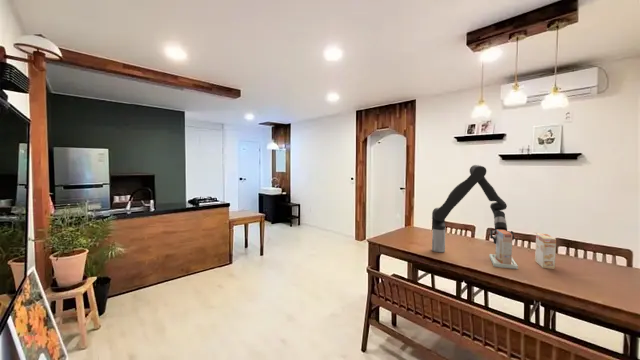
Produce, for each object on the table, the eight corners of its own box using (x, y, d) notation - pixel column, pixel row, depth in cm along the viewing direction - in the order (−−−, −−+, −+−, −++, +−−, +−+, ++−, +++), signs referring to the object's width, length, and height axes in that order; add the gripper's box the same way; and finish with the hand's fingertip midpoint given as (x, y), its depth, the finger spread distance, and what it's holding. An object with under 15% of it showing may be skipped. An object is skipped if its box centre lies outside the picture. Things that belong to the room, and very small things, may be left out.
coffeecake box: (555, 269, 191) (556, 239, 190) (542, 267, 194) (543, 238, 192) (546, 261, 205) (548, 233, 204) (534, 260, 208) (535, 233, 206)
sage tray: (493, 266, 196) (493, 263, 196) (489, 256, 216) (489, 253, 216) (517, 269, 191) (518, 265, 191) (511, 259, 211) (511, 256, 211)
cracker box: (512, 265, 196) (513, 234, 195) (501, 264, 198) (502, 233, 196) (504, 258, 210) (505, 229, 208) (494, 258, 211) (495, 228, 210)
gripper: (489, 220, 215) (491, 240, 205) (512, 222, 210) (515, 242, 200) (488, 226, 220) (490, 245, 210) (511, 228, 215) (513, 248, 205)
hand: (502, 244), depth 205 cm, fingers open, 8 cm apart
